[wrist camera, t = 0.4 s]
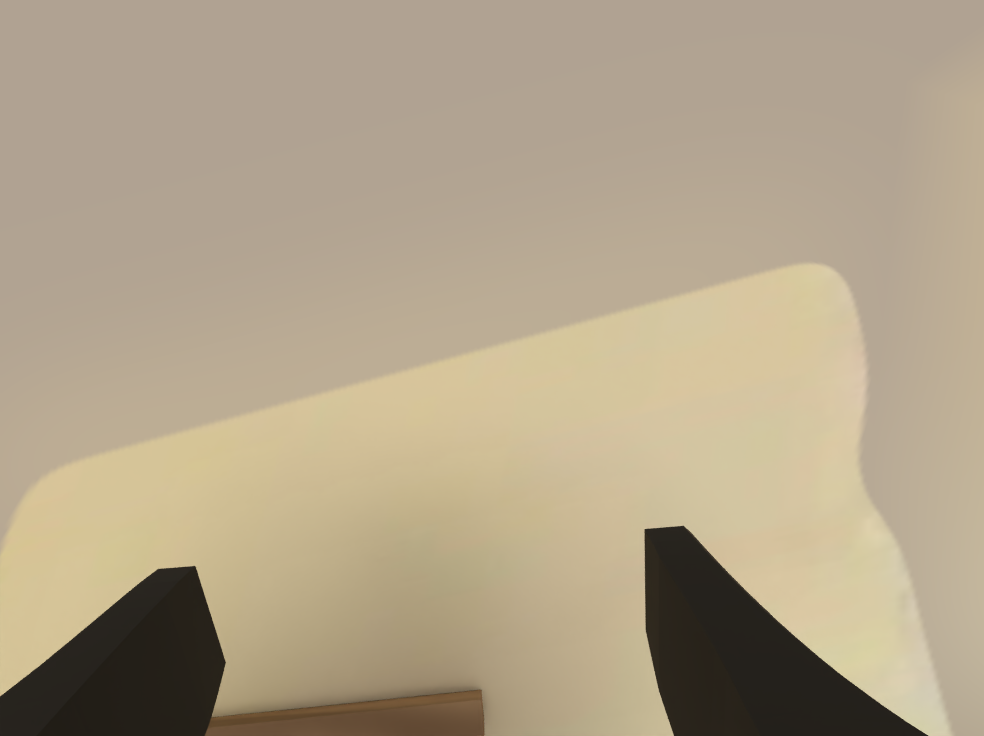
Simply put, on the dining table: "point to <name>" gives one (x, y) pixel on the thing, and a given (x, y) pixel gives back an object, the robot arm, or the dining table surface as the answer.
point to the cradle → (365, 718)
